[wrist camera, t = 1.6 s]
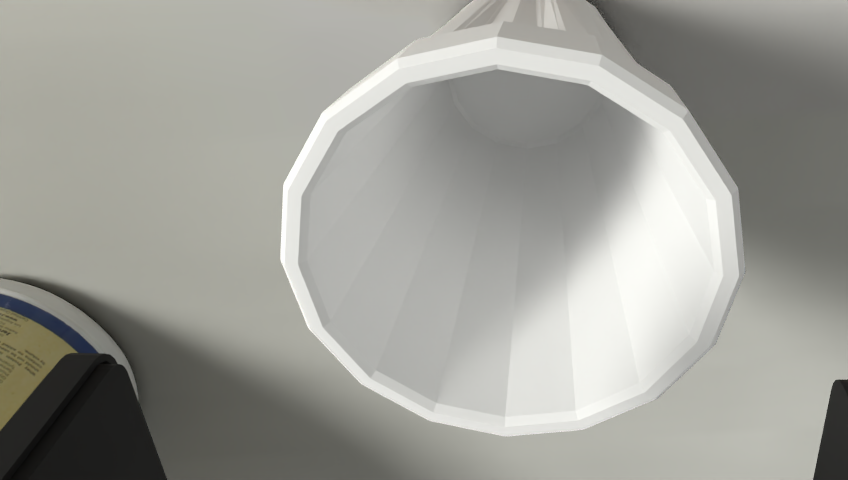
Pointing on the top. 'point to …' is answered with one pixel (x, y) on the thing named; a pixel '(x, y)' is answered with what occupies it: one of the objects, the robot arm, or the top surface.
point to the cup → (513, 225)
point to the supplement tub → (42, 341)
